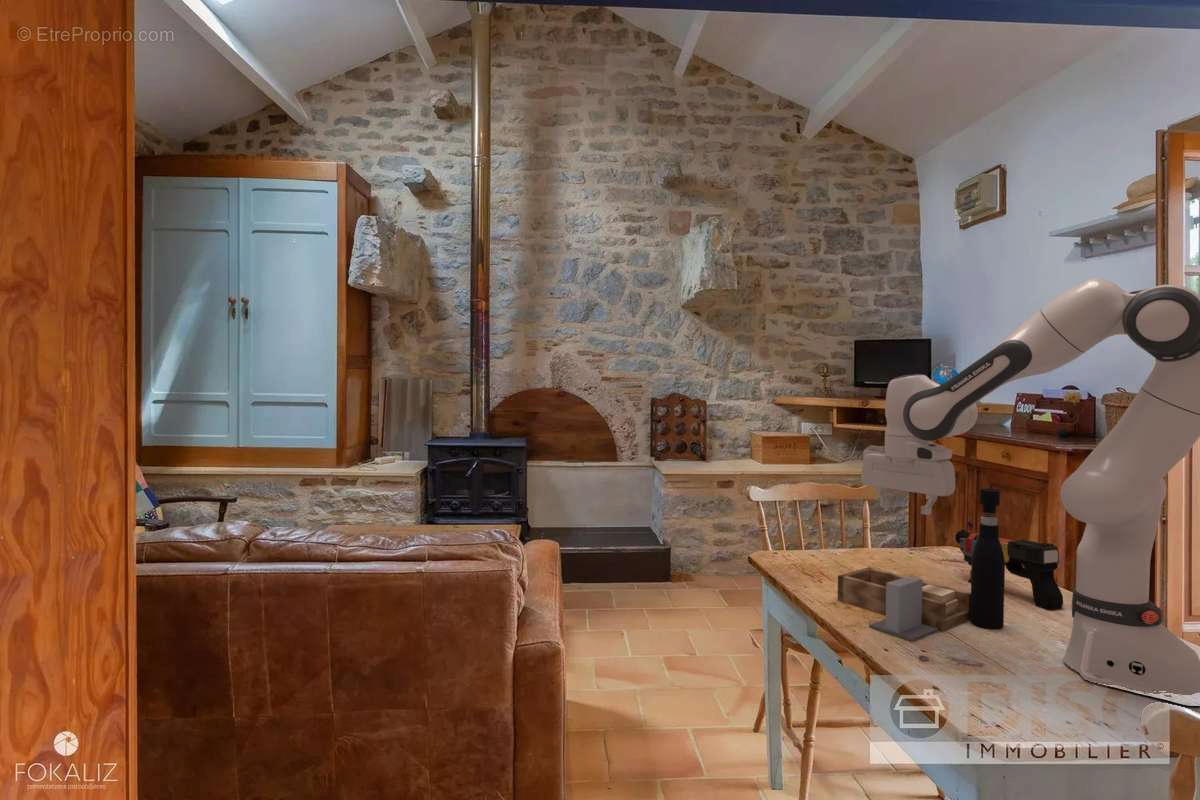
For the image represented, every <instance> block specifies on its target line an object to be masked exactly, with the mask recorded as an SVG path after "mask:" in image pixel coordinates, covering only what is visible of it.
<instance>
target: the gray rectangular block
mask: <svg viewBox="0 0 1200 800" xmlns="http://www.w3.org/2000/svg"><path fill="white" fill-rule="evenodd" d="M922 581H924V580H923V579H922V578H919V577H915V576H911V575H908V576H906V577H905V578H902V579H898V580H895V581H892V582H888V583H886V615H885V619H886V629H887V630H890V631H893V632H896V633H901V632H903V631H906V630H909V629H911V628H914V627H917V626H919V625H922Z"/></svg>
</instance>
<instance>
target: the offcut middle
mask: <svg viewBox="0 0 1200 800" xmlns="http://www.w3.org/2000/svg"><path fill="white" fill-rule="evenodd" d="M956 611H958V600H957V599H955V600H953V601H950V602H948V603H946V614H945V616H947V615H949V614H952V613H954V612H956Z"/></svg>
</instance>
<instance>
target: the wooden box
mask: <svg viewBox="0 0 1200 800" xmlns="http://www.w3.org/2000/svg"><path fill="white" fill-rule="evenodd" d="M905 577H907V576H905V575H901V574H897V573H895V572H894V573H893V572H890V571H885V570H882V569H877V568H874V567H865V568H862V569H858V570H854V571H851V572H847V573H843V574H839V575H837V601H839V602H844V603H846V602H847V603H846V604H849V603H850V604H849V605H853V606H856V605H857V606H856V607H859V606H860V608H862V607H863V609H866V610H870V611H873V612H876V613H878V614H882V615H885V616H886V583H888V582H892V581H895V580H898V579H902V578H905ZM926 585H933V586H937V587H941V588H945V589H949V590H953V591H955V599H957V600H958V613H956V614H953V615H950V616H948V617H945V614H946V603H945V602H941V601H937V600H933V599H930V598H926V597H922V624H924V625H927V626H931V627H934V628H937V629H938V632H944V631H947V630H949V629H951V628H954V627H956V626H959V625H962V624H964V623H966V622H968V621H970V614H971V591H970V592H969V591H965V590H962V589H956V588H953V587H949V586H944V585H942V584H937V583H934V582H933V583H932V582H929V581H925V580H922V587H923V586H926Z"/></svg>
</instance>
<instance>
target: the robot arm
mask: <svg viewBox="0 0 1200 800" xmlns="http://www.w3.org/2000/svg"><path fill="white" fill-rule="evenodd" d="M1117 335H1125V336H1126V335H1127V337H1129V339H1130V340H1131V341H1132V342H1133V343H1134V344H1135V345H1137V346H1138V347H1139V348H1140V349H1142V350H1143V351H1145V352H1147V353H1148V354H1149V355H1151V357H1153V358H1155V359H1156V360H1155V364H1154V366H1153V369H1152V370H1151V372H1150V373H1149V375H1148V376H1147V378H1146V380H1145V381H1144V383H1143V384H1142V386H1141V387H1140V388H1139V390H1138V391H1137V393H1136V395H1135V396H1134V397H1133V399H1132V401H1131V402H1130V404H1129V405H1128V407H1127V409H1126V410H1125V411H1124V412H1123V414H1122V416H1121V417H1120V418H1119V420H1118V421H1117V423H1116V424H1115V425H1114V427H1112V429H1111V430H1110V431H1109V432H1108V434H1107V435H1106V436H1104V438H1102V440H1101V441H1100V442H1099V443H1098V445H1097V446H1096V447H1094V449H1093V450H1091V452H1090V453H1089V454H1088V456H1087V457H1086V458H1085V459H1084V461H1083V462H1082V463H1081V464H1080V465H1079V466H1078V468H1076V470H1075V471H1073V472H1072V473H1071V474H1070V475H1069V476H1068V477H1067V478H1066V479H1065V480H1064V481H1063V484H1062V485H1061V487H1060V501H1061V504H1062V506H1063V508H1064V509H1065V510H1066V512H1067V513H1068V514H1069V515H1070V516H1072V517H1073V519H1076V520H1077V521H1080V522H1082V523H1085V528H1084V531H1083V535H1082V537H1081V540H1080V542H1079V543H1078V546H1077V547H1076V548H1077V549H1076V559H1075V562H1076V563H1075V564H1076V565H1075V588H1073V589H1072V596H1071V613H1072V614H1071V617H1072V618H1073V620H1072V626H1071V633H1070V638H1069V642H1068V645H1067V649H1066V651H1065V653H1064V656H1063V659H1062V660H1064V661H1063V663H1064V662H1065V663H1066V664H1067V665H1068V666H1070V667H1072V668H1073V669H1074V670H1076V671H1078V672H1079V673H1080V675H1081V676H1082V677H1083V678H1084V679H1086V680H1088V681H1091V682H1096V683H1101V684H1106V685H1118V686H1121V687H1125V688H1127V689H1130V690H1136V691H1142V692H1147V693H1153V694H1160V693H1163V692H1159V691H1166V692H1164V693H1173V694H1181V695H1192V694H1195V693H1198V692H1199V693H1200V658H1199V655H1198V653H1196V651H1195V650H1194V649H1193V648H1191V647H1190V646H1189V645H1188V644H1186V643H1185V642H1184V641H1183V640H1181V639H1180V638H1179V637H1178V636H1176V635H1175V634H1174V633H1173V632H1172V631H1171V630H1170V629H1168V628H1167V627H1166V626H1165V625H1163V624H1162V622H1163V621H1162V620H1163V613H1164V612H1165V611H1164V609H1165V607H1164V606H1163V605H1161V606H1160V607H1158V606H1157V605H1156V604H1155V603H1154V602H1152V601H1151V600H1150V596H1149V595H1150V578H1151V577H1150V575H1151V574H1150V573H1151V571H1150V570H1151V558H1152V551H1153V546H1154V542H1155V539H1156V535H1157V530H1158V526H1159V522H1160V521H1159V520H1160V515H1161V510H1162V506H1163V502H1164V501H1165V498H1166V496H1167V484H1166V481H1165V479H1164V477H1165V476H1167V474H1168V473H1169V472H1170V471H1171V470H1172V469H1173V468H1174V467H1175V466H1176V465H1177V464H1178V463H1179V462H1180V461H1182V460H1183V459H1184V458H1185V457H1186V456H1187V455H1188V454H1189V452H1190V450H1191V449H1192V448H1193V446H1194V445H1195V444H1196V443H1197V441H1198V440H1199V439H1200V295H1199V294H1198V293H1197V292H1196V291H1194V290H1193V289H1190V288H1189V287H1186V286H1183V285H1180V284H1179V285H1178V284H1169V283H1167V284H1160V285H1156V286H1152V287H1150V288H1146V289H1145V288H1144V289H1141V290H1140V289H1139V290H1135V291H1130V292H1127V291H1126V290H1123V289H1122V288H1121V287H1120V286H1118V284H1116V283H1115V282H1112V281H1109V280H1107V279H1105V278H1091V279H1088V280H1085V281H1083V282H1081V283H1078V284H1077V285H1075V286H1074V287H1072V288H1070V289H1068V290H1066V291H1065V292H1063V293H1061V294H1060V295H1058V296H1057V297H1056V298H1054V299H1052V300H1051V301H1049V302H1048V303H1046V305H1044V306H1042V307H1040V309H1038V310H1037V311H1035V313H1033V314H1032V315H1031V316H1030V317H1029V318H1027V319H1025V321H1023V322H1022V323H1021V324H1020V325H1018V327H1016V328H1015V329H1014V330H1013V331H1012V332H1011V333H1010V334H1009V335H1008V336H1007V337H1005V338H1004V339H1003V340H1002V341H1001V342H1000V343H998V344H997V345H996V346H994V348H992V349H991V350H990V351H989V352H987V353H985V354H984V356H982V357H980V358H979V359H977V360H976V361H974V362H973V363H972V364H970V365H969V366H967V367H966V368H964V369H963V370H961V371H960V372H958V373H957V374H956V375H954V376H953V377H952V378H950V379H948V380H947V381H946V382H944V383H943V384H940V383H937V382H935V381H933V380H932V379H930V378H929V376H927V375H925V374H922V373H914V374H905V375H900V376H897V377H894V378H892V379H891V380H890V381H889V383H888V385H887V388H886V395H885V405H884V406H885V412H884V414H885V418H886V419H885V420H886V429H885V431H884V445H873V444H872V445H869V446H867V447H865V449H864V450H863V452H862V459H863V461H862V466H861V472H860V473H861V474H860V481H861V483H862V484H863V486H865V487H866V486H867V487H873V488H874V487H875V493H876V495H877V497H878V499H879V500H880V501H879V502H880V504H879V506H880V507H881V508H883V509H890V508H891V501H892V500H891V499H888V498H887V495H886V493H885V492H887V489H889V490H895V491H896V490H897V491H901V492H902V491H904V492H911V493H917V494H924V495H925V499H926V500H927V501H926V503H925V505H921V506H920V514H921V515H923V516H924V515H925V516H930V515H932V512H933V511H932V509H933V508H932V507H933V506H934V504H935V503H936V502H937V500H938V496H939V497H949V496H952V495H953V494H955V493H954V492H955V491H956V472H955V471H956V470H955V466H954V465H953V463H952V461H950V460H951V458H952V456H953V451H952V449H950V448H948V447H945V446H943V445H940V444H938V443H935V442H933V441H937V440H940V439H943V438H948V437H953V436H959V435H962V434H965V433H967V432H968V431H970V430H972V429H973V428H974V427H975V425H976V424H977V422H978V420H979V415H980V413H979V412H980V411H979V407H978V403H977V402H979V401H981V400H982V399H983V398H985V397H986V396H988V395H990V394H992V392H994V391H995V390H997V389H999V388H1000V387H1002V386H1004V385H1006V384H1009V383H1010V382H1013V381H1016V380H1019V379H1023V378H1028V377H1033V376H1037V375H1042V374H1047V373H1050V372H1052V371H1055V370H1057V369H1059V368H1061V367H1063V366H1065V365H1067V364H1069V363H1071V362H1072V361H1075V360H1076V359H1078V358H1079V357H1081V356H1082V355H1083V354H1085V353H1087V352H1088V351H1089V350H1090V349H1092V348H1093V347H1095V346H1096V345H1098V344H1099V343H1101V342H1102V341H1105V340H1106V339H1107V338H1110V337H1112V336H1117ZM1065 663H1064V664H1065ZM1066 664H1065V665H1066ZM1067 665H1066V666H1067ZM1068 666H1067V667H1068ZM1074 670H1073V671H1074ZM1076 671H1075V672H1076ZM1079 673H1078V674H1079ZM1080 675H1079V676H1080ZM1081 676H1080V677H1081ZM1082 677H1081V678H1082ZM1083 678H1082V679H1083ZM1084 679H1083V680H1084ZM1088 681H1087V682H1088ZM1091 682H1090V683H1091ZM1154 691H1156V692H1154ZM1164 696H1166V697H1172V696H1171V695H1164Z"/></svg>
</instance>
